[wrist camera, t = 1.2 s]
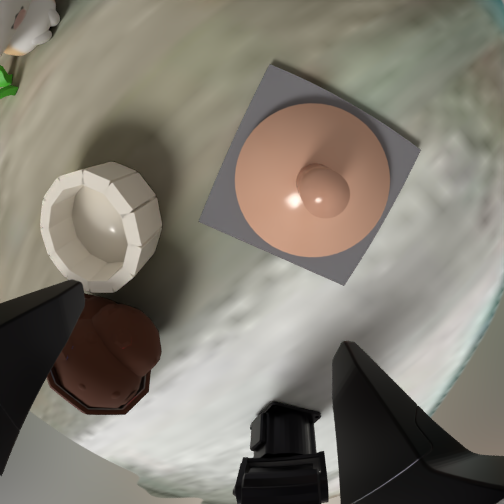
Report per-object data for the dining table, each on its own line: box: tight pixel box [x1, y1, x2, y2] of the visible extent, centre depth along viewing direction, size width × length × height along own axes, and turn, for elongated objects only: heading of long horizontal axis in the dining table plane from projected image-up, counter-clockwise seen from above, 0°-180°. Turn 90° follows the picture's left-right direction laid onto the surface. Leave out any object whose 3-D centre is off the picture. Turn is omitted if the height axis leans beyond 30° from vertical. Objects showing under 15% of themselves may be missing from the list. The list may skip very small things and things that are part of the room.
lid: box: [235, 103, 390, 257], centre depth 16 cm, size 10×10×4 cm
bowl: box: [40, 162, 162, 293], centre depth 19 cm, size 9×9×4 cm
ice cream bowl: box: [46, 293, 162, 415], centre depth 21 cm, size 11×11×15 cm
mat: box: [199, 64, 421, 286], centre depth 19 cm, size 12×12×1 cm
